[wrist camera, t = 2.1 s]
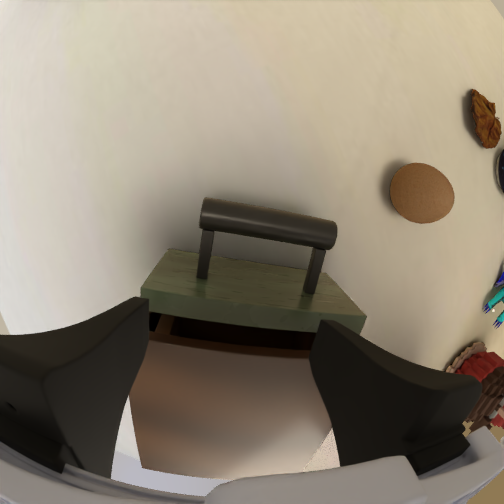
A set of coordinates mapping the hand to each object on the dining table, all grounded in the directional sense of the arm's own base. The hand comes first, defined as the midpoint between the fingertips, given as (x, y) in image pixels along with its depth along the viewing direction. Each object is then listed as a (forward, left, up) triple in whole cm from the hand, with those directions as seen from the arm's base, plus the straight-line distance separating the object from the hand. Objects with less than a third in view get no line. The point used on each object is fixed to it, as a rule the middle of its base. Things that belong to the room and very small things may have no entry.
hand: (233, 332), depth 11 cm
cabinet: (-1, +8, -10) cm, 13 cm away
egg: (-12, -8, -10) cm, 18 cm away
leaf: (-22, -19, -10) cm, 31 cm away
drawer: (-1, +4, -9) cm, 9 cm away
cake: (-33, +11, -10) cm, 36 cm away
